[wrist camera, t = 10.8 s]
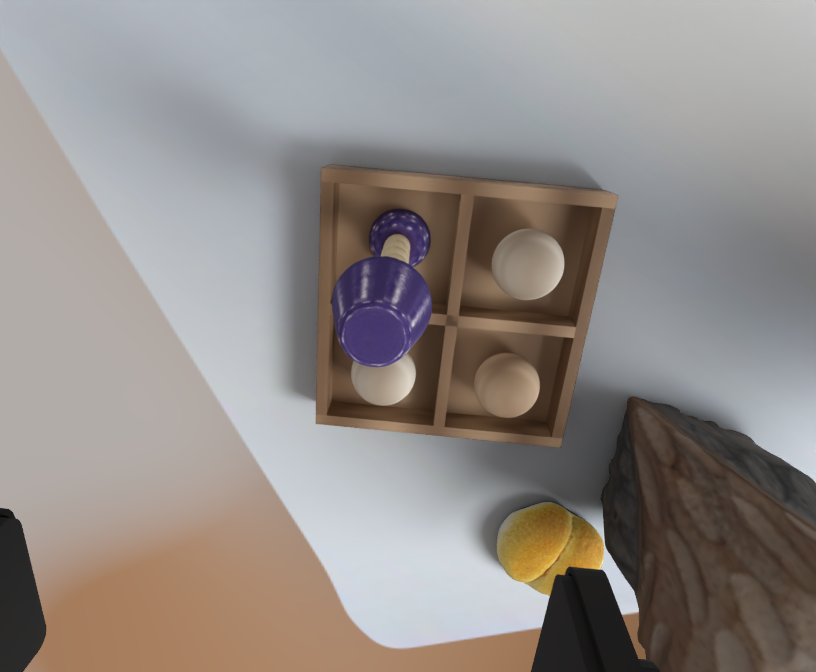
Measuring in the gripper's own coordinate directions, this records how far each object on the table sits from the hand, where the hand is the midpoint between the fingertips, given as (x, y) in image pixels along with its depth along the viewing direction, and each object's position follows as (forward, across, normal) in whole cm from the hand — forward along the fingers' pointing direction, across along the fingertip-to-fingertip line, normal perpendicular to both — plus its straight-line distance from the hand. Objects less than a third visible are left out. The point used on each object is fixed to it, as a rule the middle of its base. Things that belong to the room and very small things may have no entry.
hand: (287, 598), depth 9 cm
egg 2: (+29, -9, 0) cm, 31 cm away
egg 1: (+29, 0, +9) cm, 31 cm away
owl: (+30, -23, +15) cm, 41 cm away
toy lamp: (+30, 0, 0) cm, 30 cm away
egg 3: (+29, -9, +9) cm, 32 cm away
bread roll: (+31, -15, +25) cm, 42 cm away
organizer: (+30, -4, +4) cm, 31 cm away
